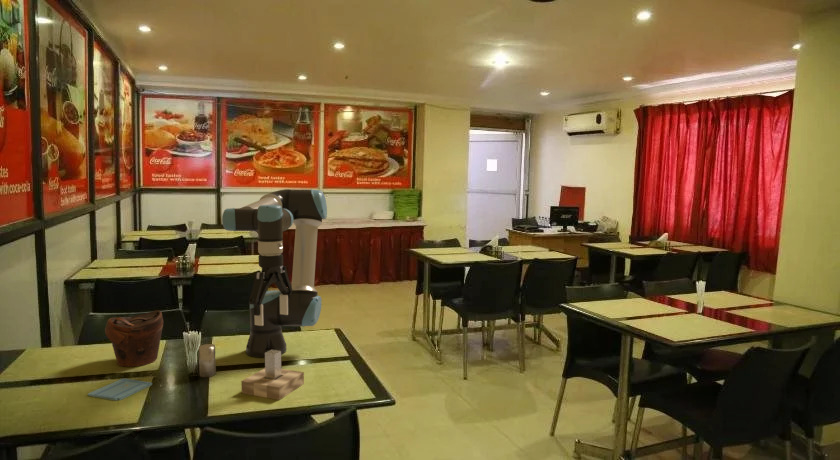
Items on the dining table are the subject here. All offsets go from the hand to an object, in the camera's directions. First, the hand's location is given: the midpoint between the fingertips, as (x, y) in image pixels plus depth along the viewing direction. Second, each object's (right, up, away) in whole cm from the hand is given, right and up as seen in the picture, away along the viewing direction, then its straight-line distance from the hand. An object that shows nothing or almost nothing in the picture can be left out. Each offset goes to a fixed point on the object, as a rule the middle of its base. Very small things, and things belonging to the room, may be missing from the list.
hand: (272, 319), depth 177 cm
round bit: (-26, -21, +13) cm, 36 cm away
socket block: (0, -23, +2) cm, 23 cm away
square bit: (0, -22, +2) cm, 23 cm away
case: (-56, -20, +25) cm, 65 cm away
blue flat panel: (-48, -23, -1) cm, 53 cm away
